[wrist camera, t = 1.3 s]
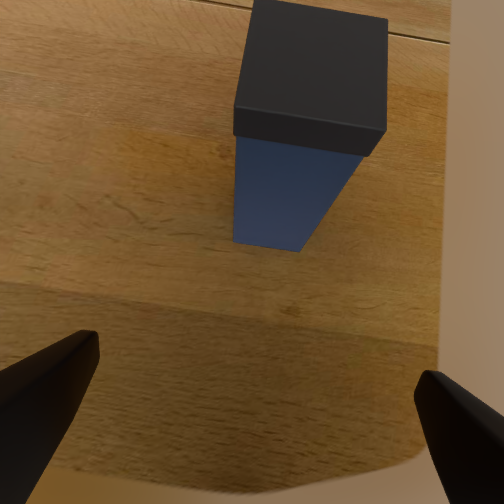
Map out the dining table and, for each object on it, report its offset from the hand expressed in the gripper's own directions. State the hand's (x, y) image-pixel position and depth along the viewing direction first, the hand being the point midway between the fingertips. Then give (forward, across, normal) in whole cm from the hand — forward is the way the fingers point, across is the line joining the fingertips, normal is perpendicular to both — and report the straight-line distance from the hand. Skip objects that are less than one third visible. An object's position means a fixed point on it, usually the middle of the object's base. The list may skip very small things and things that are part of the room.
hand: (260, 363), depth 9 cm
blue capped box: (+17, -1, +1) cm, 17 cm away
